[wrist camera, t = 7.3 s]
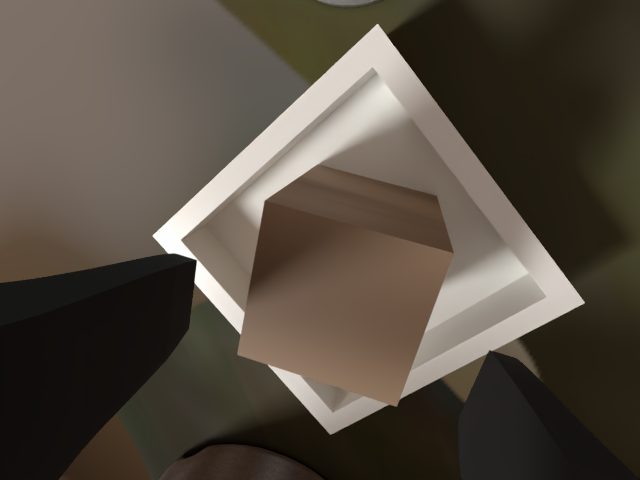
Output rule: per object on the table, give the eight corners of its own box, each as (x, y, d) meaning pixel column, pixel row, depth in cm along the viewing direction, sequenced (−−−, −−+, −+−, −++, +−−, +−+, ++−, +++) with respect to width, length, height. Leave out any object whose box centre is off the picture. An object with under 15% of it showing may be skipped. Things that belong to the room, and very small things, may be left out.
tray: (557, 270, 15) (585, 302, 13) (340, 392, 19) (330, 434, 17) (383, 37, 14) (377, 23, 11) (187, 217, 18) (152, 235, 15)
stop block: (400, 302, 16) (396, 407, 11) (294, 270, 17) (237, 354, 11) (436, 195, 15) (453, 253, 9) (317, 164, 15) (264, 200, 10)
